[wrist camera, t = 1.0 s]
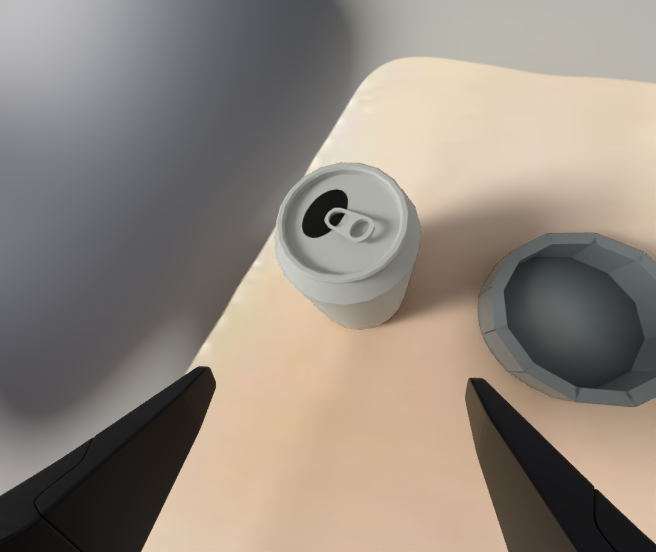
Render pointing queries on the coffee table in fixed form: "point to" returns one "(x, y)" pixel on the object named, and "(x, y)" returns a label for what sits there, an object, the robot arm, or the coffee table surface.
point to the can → (349, 242)
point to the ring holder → (575, 318)
